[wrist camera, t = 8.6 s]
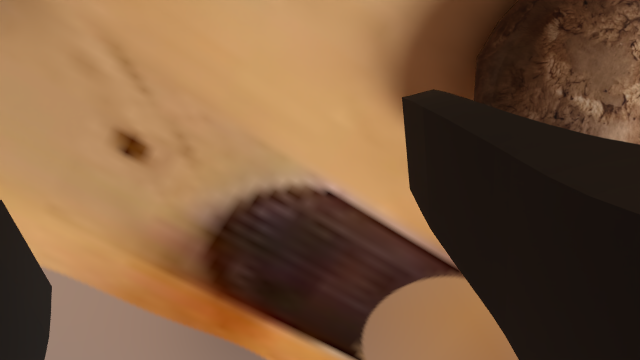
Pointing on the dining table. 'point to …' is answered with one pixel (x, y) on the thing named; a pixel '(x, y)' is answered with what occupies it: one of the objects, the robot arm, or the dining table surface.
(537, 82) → the brown rough rounded lump
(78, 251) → the dining table surface
